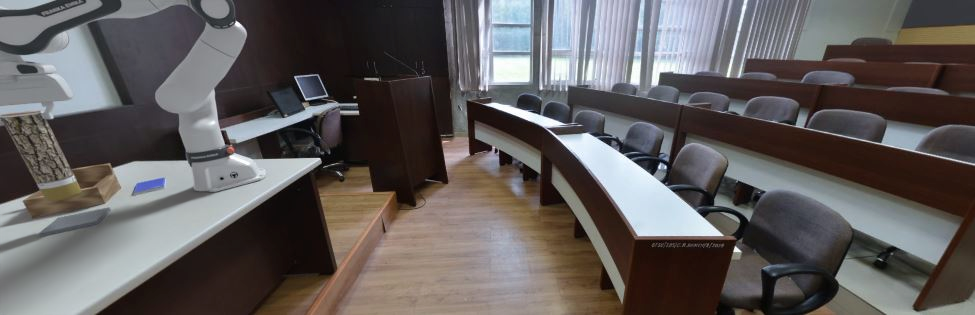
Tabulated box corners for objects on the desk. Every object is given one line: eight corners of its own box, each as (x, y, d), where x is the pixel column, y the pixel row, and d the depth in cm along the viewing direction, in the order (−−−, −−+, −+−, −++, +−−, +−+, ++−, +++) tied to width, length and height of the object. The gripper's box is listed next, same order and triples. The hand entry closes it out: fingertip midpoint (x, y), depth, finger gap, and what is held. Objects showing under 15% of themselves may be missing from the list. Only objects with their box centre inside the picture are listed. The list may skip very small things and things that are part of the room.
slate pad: (110, 209, 105) (109, 207, 105) (97, 224, 96) (95, 221, 96) (59, 220, 99) (58, 217, 99) (40, 236, 91) (38, 233, 90)
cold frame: (121, 187, 123) (110, 163, 119) (105, 203, 110) (92, 176, 107) (57, 199, 114) (43, 173, 111) (32, 217, 102) (15, 189, 98)
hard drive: (164, 185, 120) (165, 177, 129) (132, 192, 115) (136, 183, 124) (165, 189, 121) (166, 180, 130) (134, 196, 116) (137, 186, 124)
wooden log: (55, 203, 91) (9, 115, 83) (40, 201, 93) (-8, 115, 84) (88, 192, 97) (48, 110, 89) (73, 191, 99) (32, 110, 91)
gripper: (-83, 72, 75) (-48, 130, 80) (51, 66, 86) (75, 117, 90) (-62, 71, 80) (-30, 125, 85) (62, 65, 91) (85, 114, 95)
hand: (25, 121), depth 88 cm, fingers closed on wooden log, 7 cm apart
